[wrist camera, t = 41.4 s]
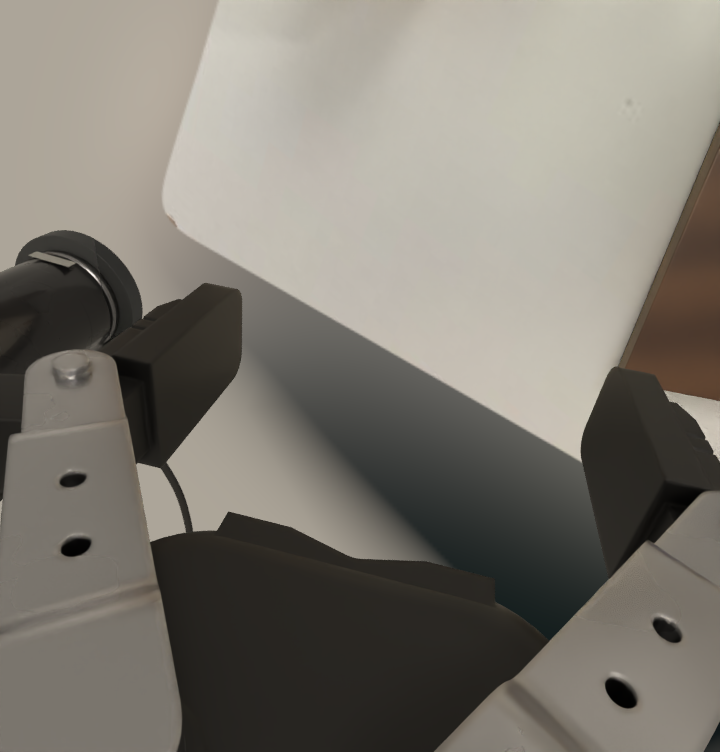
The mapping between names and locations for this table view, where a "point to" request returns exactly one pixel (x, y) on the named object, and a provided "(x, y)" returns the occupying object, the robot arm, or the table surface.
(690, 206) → the board
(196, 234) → the table surface
